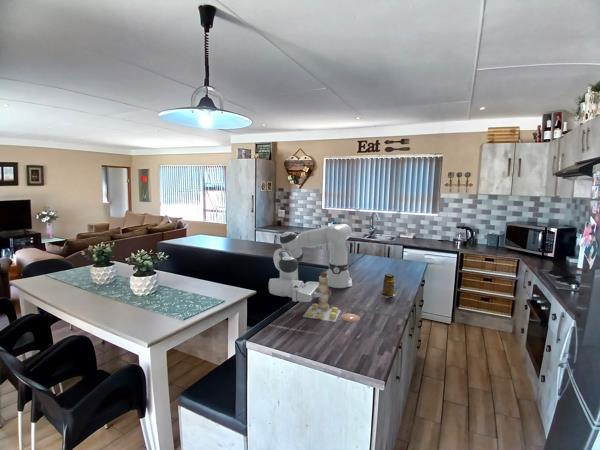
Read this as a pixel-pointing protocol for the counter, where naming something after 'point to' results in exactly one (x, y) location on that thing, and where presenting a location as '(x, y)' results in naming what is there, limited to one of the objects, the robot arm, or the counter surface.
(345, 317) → the coaster
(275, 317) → the counter surface
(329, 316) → the mat
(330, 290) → the cupcake
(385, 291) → the condiment
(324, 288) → the pepper mill
